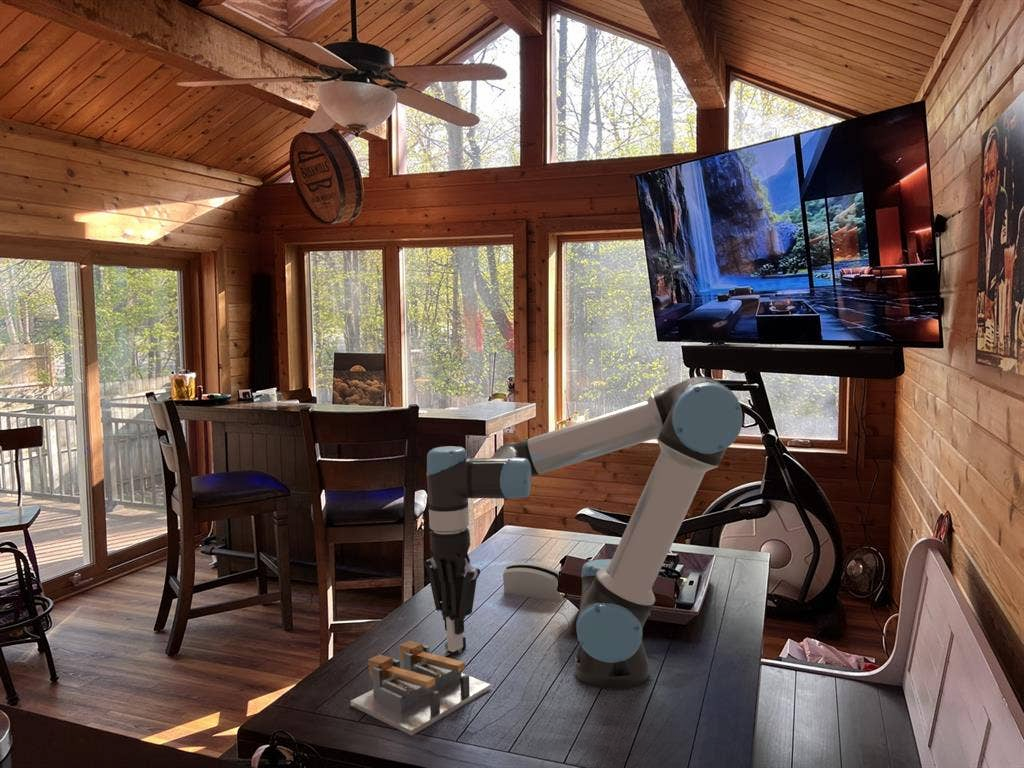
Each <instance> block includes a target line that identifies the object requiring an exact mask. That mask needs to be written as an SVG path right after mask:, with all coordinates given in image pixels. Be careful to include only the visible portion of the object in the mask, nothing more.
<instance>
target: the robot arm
mask: <svg viewBox="0 0 1024 768" xmlns="http://www.w3.org/2000/svg"><path fill="white" fill-rule="evenodd" d="M742 410H743V409H742V407H741V403H740V400H739V398H737V396H736V394H735V393H734V392H733V391H732V390H731V389H730V388H728V387H727V386H725V385H723V383H721V382H720V381H718V380H717V379H714V378H712V377H707V376H695V377H690V378H688V379H687V378H686V379H685V380H683V381H680V382H678V383H676V384H675V385H672V386H669V387H666V388H664V389H661V390H659V391H656V392H652V393H650V395H649V397H648V398H647V400H645V401H641V402H638V403H634V404H633V405H632V404H631V405H628V406H626V407H623V408H620V409H618V410H614V411H610V412H608V413H604V414H601V415H598V416H595V417H592V418H588V419H585V420H583V421H579V422H576V423H574V424H570V425H566V426H564V427H560V428H558V429H554V430H551V431H549V432H545V433H543V434H539V435H536V436H534V437H530V438H527V439H525V440H521V441H518V442H508V443H505V444H502V445H501V446H500V447H499V448H497V449H496V451H495V452H494V454H493V455H492V456H491V457H482V458H481V457H480V458H479V457H478V458H475V457H474V458H473V457H468V454H467V451H466V449H465V448H464V447H463V446H452V445H449V446H448V445H447V446H438V447H433V448H432V449H431V450H429V451H428V452H427V455H426V473H425V474H426V480H427V493H428V495H427V496H428V516H429V517H428V521H429V523H428V525H429V527H428V528H429V529H430V530H431V531H430V532H429V540H430V543H429V544H430V549H431V551H432V552H433V554H432V557H431V558H429V559H426V560H424V562H423V564H424V565H423V566H424V567H425V569H426V571H427V573H428V574H427V575H428V579H429V583H430V588H431V593H432V597H433V600H434V602H433V603H434V606H435V607H434V608H435V609H436V611H437V612H439V611H440V612H441V615H442V614H443V615H444V620H445V621H444V620H443V621H444V631H446V640H447V641H446V642H447V644H448V650H449V651H452V652H454V651H456V650H458V649H460V648H462V647H463V637H464V636H463V634H464V632H465V619H464V617H465V618H466V617H467V616H469V615H471V614H472V613H473V606H474V603H475V602H474V600H475V593H476V587H477V582H478V578H479V577H480V574H481V569H480V568H478V567H476V568H474V566H473V565H472V564H471V559H470V556H469V553H468V552H469V549H470V547H471V533H470V532H471V531H470V530H471V529H469V528H468V527H469V526H470V519H469V518H470V517H469V516H470V514H469V510H470V509H469V499H498V500H499V499H500V500H501V499H506V500H507V499H508V500H514V499H526V498H527V497H529V496H530V494H531V490H532V480H533V479H532V478H533V477H535V476H539V475H542V474H545V473H548V472H552V471H554V470H557V469H561V468H564V467H567V466H570V465H574V464H577V463H581V462H584V461H587V460H590V459H594V458H596V457H597V458H598V457H599V456H600V457H601V456H603V455H606V454H610V453H612V452H616V451H619V450H622V449H626V448H629V447H632V446H635V445H639V444H642V443H644V442H648V441H651V440H655V439H656V440H657V443H658V446H659V448H660V453H659V454H658V457H657V459H656V461H655V463H654V466H653V468H652V470H651V472H650V475H649V477H648V479H647V482H646V483H645V486H644V487H643V491H642V492H641V495H640V496H639V498H638V501H637V503H636V506H635V508H634V510H633V512H632V514H631V516H630V519H629V521H628V522H627V525H626V527H625V530H624V532H623V534H622V537H621V538H620V541H619V543H618V546H617V548H616V550H615V551H614V554H613V556H612V558H610V559H606V558H605V559H595V560H594V559H593V560H590V561H587V562H585V563H584V564H583V565H582V568H581V573H580V577H581V596H580V597H581V598H580V603H579V610H578V615H577V619H576V621H575V623H576V624H575V628H576V629H575V630H576V635H577V640H578V643H579V646H578V649H577V652H576V655H575V658H574V673H575V675H576V677H577V678H578V680H580V681H581V682H583V683H585V684H587V685H588V686H592V687H595V688H599V689H604V690H625V689H631V688H633V687H637V686H640V685H642V684H643V683H645V682H646V681H647V679H648V678H649V677H650V661H649V659H648V657H647V653H646V650H645V646H644V644H643V636H644V635H643V628H644V626H645V624H646V621H647V619H648V617H649V615H650V613H651V611H652V609H653V607H654V604H655V602H656V597H655V594H654V593H653V589H652V588H653V586H654V584H655V581H657V578H658V575H659V573H660V571H661V569H662V566H663V565H664V562H665V560H666V558H667V556H668V554H669V552H670V550H671V548H672V545H673V543H674V541H675V538H676V537H677V534H678V532H679V530H680V528H681V526H682V523H684V522H683V521H684V520H685V517H686V515H687V514H688V511H689V509H690V507H691V505H692V503H693V500H694V499H695V498H694V497H695V496H696V493H697V491H698V489H699V488H700V485H701V483H702V481H703V479H704V476H705V474H706V473H707V472H709V471H711V470H713V469H717V468H718V467H719V465H720V463H721V461H722V459H723V458H724V457H723V456H724V455H725V453H726V451H727V449H728V448H729V447H730V446H732V444H733V443H734V442H735V441H736V440H737V438H738V437H739V435H740V434H741V430H742V426H743V411H742Z"/></svg>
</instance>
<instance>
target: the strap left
mask: <svg viewBox="0 0 1024 768" xmlns="http://www.w3.org/2000/svg"><path fill="white" fill-rule="evenodd" d="M393 658H394V657H390V656H386V655H384V654H383V655H382V654H377V655H375V656H373V657H370V658H368V669H369V670H368V671H369V677H370V678H373V672H372V668H373V667H375V666H376V667H378V668H381V669H382V672H383V680H387V679H391V678H394V679H397V680H401V681H404V682H407V683H411V684H414V685H417V686H421V687H424V688H430V687H431V686H433V685H435V678H434V677H430V676H426V675H423V674H419V673H416V672H412V671H409V670H405V669H404V668H401V667H400V668H398V667H394V666H393Z"/></svg>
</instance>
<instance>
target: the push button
mask: <svg viewBox="0 0 1024 768" xmlns="http://www.w3.org/2000/svg"><path fill="white" fill-rule="evenodd" d="M441 616H442V621H444V622H445V620H444V615H443V614H442V613H441ZM465 619H466V616H465V617H464V620H465ZM466 639H467V637H464V636H463V647H462V648H460V649H458V650H456V651H454V652H452V651H449V650H448V644H447V641H445V643H444V647H445V648H444V650H442V653H443V655H442V656H443V657H446V656H452V657H453V656H454V655H456V654H458V653H462V652H463V651H464V650H466V648H467V640H466ZM462 650H463V651H462Z"/></svg>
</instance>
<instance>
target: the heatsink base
mask: <svg viewBox="0 0 1024 768" xmlns="http://www.w3.org/2000/svg"><path fill="white" fill-rule="evenodd" d="M422 644H423V652H427V653H430V646H429V645H427V644H424V643H422ZM392 658H393V666H394V667H398V668H401V660H400V659H396V658H394V657H392ZM403 669H405V670H409V671H412V672H416V673H419V674H423V675H426V676H430V677H434V678H435V685H433V686H431V687H430V688H424V687H421V686H417V685H414V684H411V683H407V682H404V681H401V680H397V679H394V678H390V681H389V680H387V679H386V680H383V672H382V669H381V668H378V667H376V666H375V667H373V668H372V672H373V677H372V689H371V690H369V691H367V692H366V693H363V694H361V695H359V696H357V697H355V698H353V699H351V700H350V706H351V707H353V708H354V709H357V710H359V711H361V712H363V713H365V714H367V715H369V716H371V717H372V718H375V719H377V720H378V721H381V722H384V723H385V724H387V725H389V726H391V727H393V728H394V729H397V730H399V731H401V732H403V733H405V734H407V735H408V736H411V737H412V736H414V735H416V734H417V733H419V732H422V730H424V729H426V728H427V727H430V726H431V725H432V724H435V723H436V722H437V721H440V720H441V719H443V718H444V717H446V716H448V715H450V714H452V713H453V712H454V711H456V710H458V709H460V708H461V707H463V706H465V705H467V704H468V703H470V702H471V701H473V700H475V699H476V698H478V697H480V696H481V695H484V694H485V693H487V692H488V691H490V690H492V688H491V687H492V686H491V684H490V683H488V682H485V681H483V680H481V679H478V678H475V677H472V676H470V675H469V674H467V673H466V674H465V673H463V672H462V670H461V671H460V672H456V671H452V670H448V669H444V668H441V667H437V666H433V665H430V664H426V663H422V662H420V663H419V664H415V665H414V657H413V654H411V653H409V652H405V653H404V662H403Z"/></svg>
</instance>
